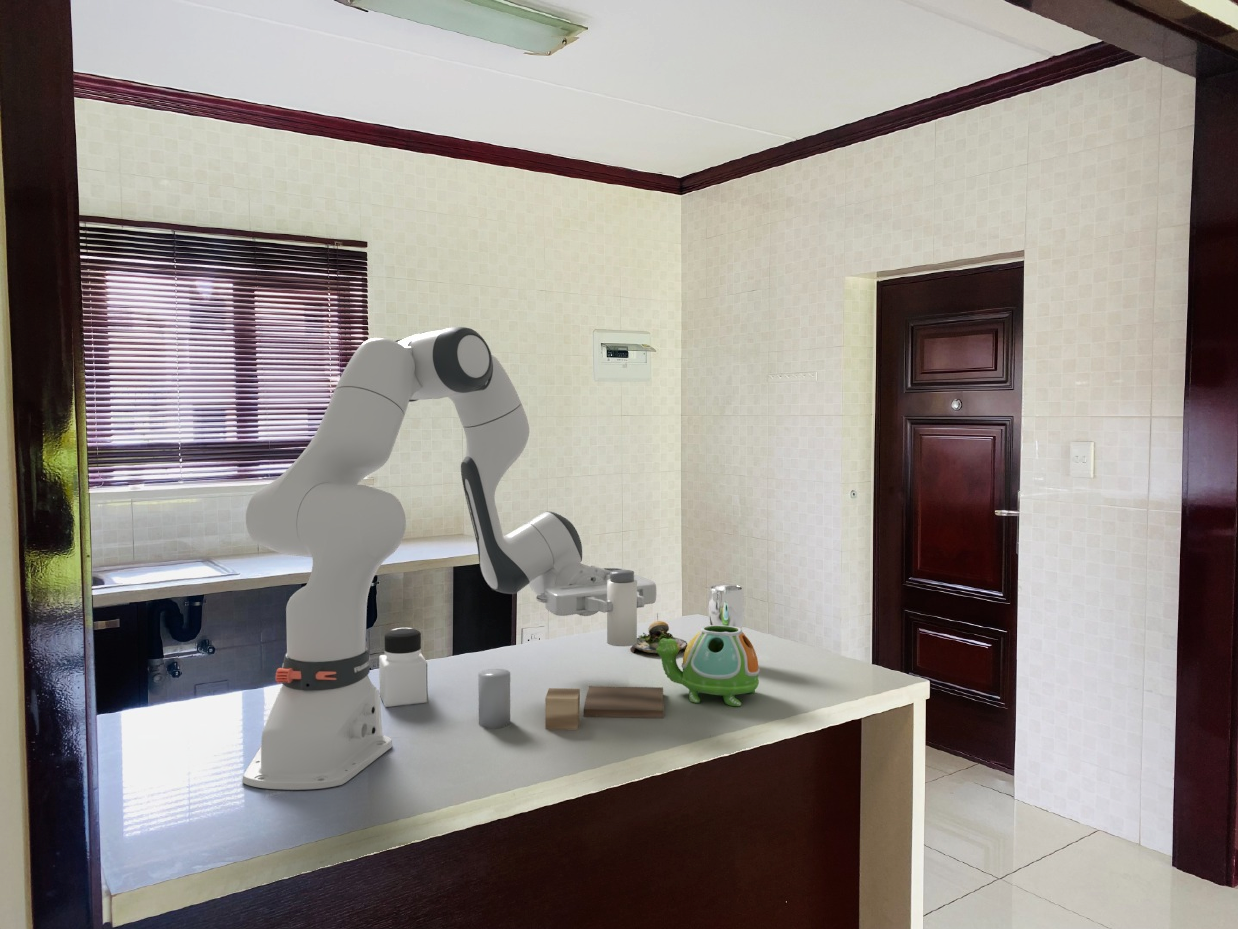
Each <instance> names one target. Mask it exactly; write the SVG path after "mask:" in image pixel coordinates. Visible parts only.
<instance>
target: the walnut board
mask: <svg viewBox="0 0 1238 929" xmlns="http://www.w3.org/2000/svg"><path fill="white" fill-rule="evenodd" d="M587 688H588V689H587V693H586V697H585V701H584V706H583V714H582V715H583V717H593V718H594V717H598V718H599V717H602V718H603V717H604V718H605V717H606V718H649V719H650V718H654V719H655V718H658V719H660V718H661V719H663V718H664V715H665V714H664V712H665V710H664V687H658V686H657V687H653V686H601V685H600V686H598V685H596V686H594V685H593V686H592V685H591V686H588V687H587Z"/></svg>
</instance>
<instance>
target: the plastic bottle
mask: <svg viewBox="0 0 1238 929" xmlns="http://www.w3.org/2000/svg"><path fill="white" fill-rule="evenodd" d="M634 575H635V572H634V570H631V569H626V570H613V571H610V579H609V580H607V600H609V601H611V602H612V611H611V612H606V643H607V644H608V645H609V646H613V647H632V645H635V644H636V643H637V638H638V636H637V635H638V608H637V580H635V579H634Z"/></svg>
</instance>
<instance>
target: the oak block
mask: <svg viewBox="0 0 1238 929" xmlns="http://www.w3.org/2000/svg"><path fill="white" fill-rule="evenodd" d="M547 689H548V690H547V693H546V696H545V700H544V701H545V704H544V707H545V708H544V709H545V714H544V715H545V716H544V717H545V718H544V720H545V722H544V723H545V728H544V729H545V730H566V731H568V730H573V731H575V730H579V729H578V728H579V723H580V719H581V718H580V717H581V716H580V715H581V714H580V713H581V707H580V706H581V704H580V703H581V694H580V693H581V688H559V687H557V688H553V687H552V688H550V687H549V688H547Z"/></svg>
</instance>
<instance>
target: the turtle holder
mask: <svg viewBox="0 0 1238 929" xmlns="http://www.w3.org/2000/svg"><path fill="white" fill-rule="evenodd" d="M742 629H743V628H742ZM742 629H741V628H738V627H733V626H724V625H710V624H709V625H708V624H707V625H705V626H702V627H701V628H700V629H699V630H700V631H699V632H698V633H697V634H695V635H694V637H692V638H691V640H690V641H689V642H687V648H686V649H684V654H683V657H682V663H681V668H682V670H681V669H680V667H679V666H678V662H677V658H678V657H677V656H678V655H679V652H680V650H679V648H678V646H677V643H676V641H675V640H674V639H665V638H662V639H661V640H660V642H659V644H658V648H656V651H657V653H656V654H658V656H659V657H660V658H661V664H662V668H663V671H664V675H666V677H667V678H668V679H669V680H670V682H673V683H676V684H679V685H683V686H684V687H686V689H688V690H689V691H688V698H689V701H690V702H691V703H696V704H699V703H701V698H700V697H699V693H702V694H708V695H713V696H714V695H715V696H723V697H722V698H723V700H724V703H725V704H726V705H728V706H731V707H740V706H742V702H741V701H740V700H739V699H738V698H736V696H735V695H744V694H755V693H756V689H758V686H759V683H760V680H759V674H760V671H761V670H760V669H761V668H760V666H759V659H758V657H757V656H758V655H757V654H756V650H755V648H754V645H753V644H752V642H751V640H750V639H749V638H748V637H747V635H746V634H745V633H744V632H743V630H742ZM723 632H729V633H723Z"/></svg>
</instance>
